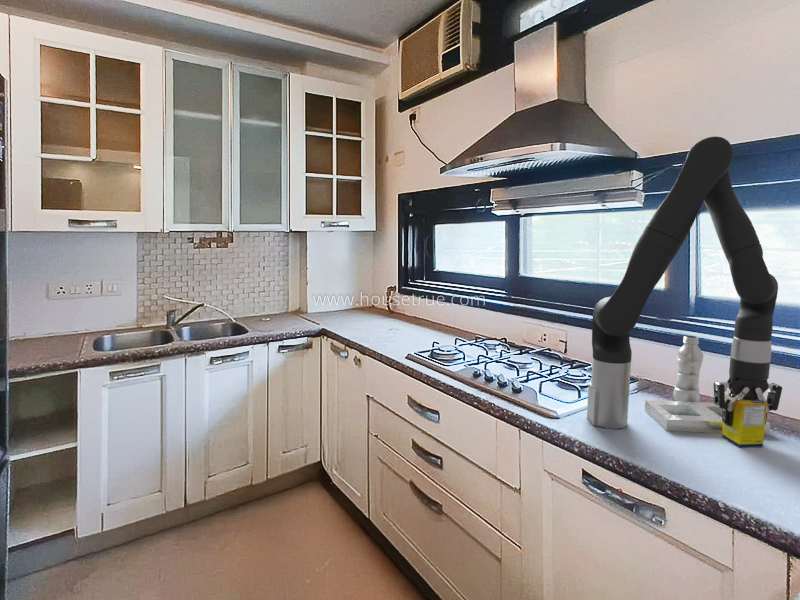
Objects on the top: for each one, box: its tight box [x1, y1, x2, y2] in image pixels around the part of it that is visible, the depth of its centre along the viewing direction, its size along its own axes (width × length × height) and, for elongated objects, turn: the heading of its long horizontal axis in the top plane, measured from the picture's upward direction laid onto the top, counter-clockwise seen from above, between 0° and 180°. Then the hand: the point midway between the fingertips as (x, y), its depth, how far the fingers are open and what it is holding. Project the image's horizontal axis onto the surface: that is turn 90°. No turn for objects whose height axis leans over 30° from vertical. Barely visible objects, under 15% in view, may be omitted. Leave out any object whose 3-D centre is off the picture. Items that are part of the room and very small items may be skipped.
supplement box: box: [721, 394, 767, 448], centre depth 113 cm, size 6×6×11 cm
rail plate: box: [644, 399, 771, 436], centre depth 125 cm, size 24×14×3 cm, turn 83°
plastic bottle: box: [672, 335, 704, 402], centre depth 138 cm, size 6×7×20 cm
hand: (743, 425), depth 113 cm, fingers closed on supplement box, 6 cm apart
